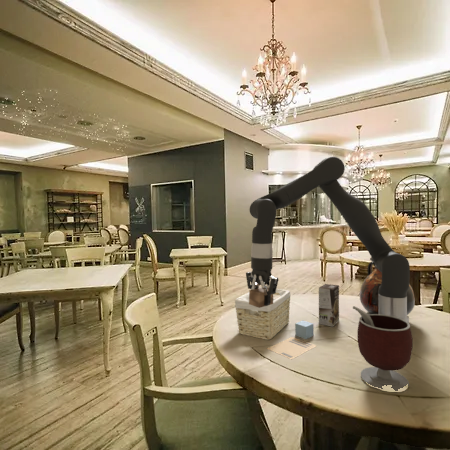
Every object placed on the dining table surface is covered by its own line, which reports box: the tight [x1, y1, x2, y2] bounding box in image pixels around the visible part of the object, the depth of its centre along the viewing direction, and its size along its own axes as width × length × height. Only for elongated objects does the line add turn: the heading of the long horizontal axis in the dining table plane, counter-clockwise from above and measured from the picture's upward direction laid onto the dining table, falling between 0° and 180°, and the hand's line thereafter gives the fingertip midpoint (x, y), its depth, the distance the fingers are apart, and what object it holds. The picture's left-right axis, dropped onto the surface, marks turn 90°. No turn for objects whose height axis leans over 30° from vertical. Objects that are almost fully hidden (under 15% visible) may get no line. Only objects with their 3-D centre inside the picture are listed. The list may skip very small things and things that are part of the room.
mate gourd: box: [352, 305, 413, 391], centre depth 86 cm, size 16×14×20 cm
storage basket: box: [234, 286, 291, 341], centre depth 126 cm, size 24×16×15 cm
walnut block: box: [248, 288, 274, 308], centre depth 106 cm, size 5×7×5 cm
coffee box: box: [318, 283, 340, 327], centre depth 131 cm, size 9×6×16 cm
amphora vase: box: [359, 256, 416, 316], centre depth 132 cm, size 22×22×28 cm
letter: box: [266, 336, 317, 360], centre depth 108 cm, size 11×15×1 cm
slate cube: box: [294, 320, 315, 340], centre depth 118 cm, size 5×5×5 cm
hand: (261, 303), depth 106 cm, fingers closed on walnut block, 5 cm apart
